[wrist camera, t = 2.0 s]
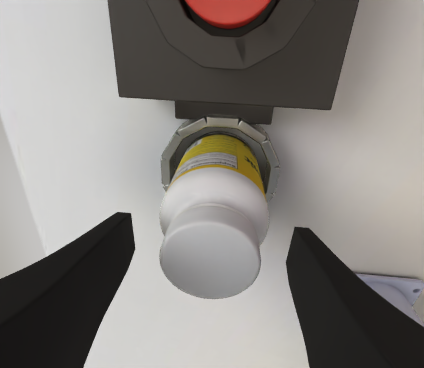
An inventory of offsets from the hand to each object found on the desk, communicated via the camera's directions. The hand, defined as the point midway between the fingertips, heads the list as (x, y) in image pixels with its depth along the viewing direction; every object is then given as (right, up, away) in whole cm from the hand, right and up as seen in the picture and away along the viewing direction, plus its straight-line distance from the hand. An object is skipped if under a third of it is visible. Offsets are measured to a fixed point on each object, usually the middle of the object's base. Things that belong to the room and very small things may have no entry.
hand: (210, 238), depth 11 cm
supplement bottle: (+1, +4, +7) cm, 8 cm away
